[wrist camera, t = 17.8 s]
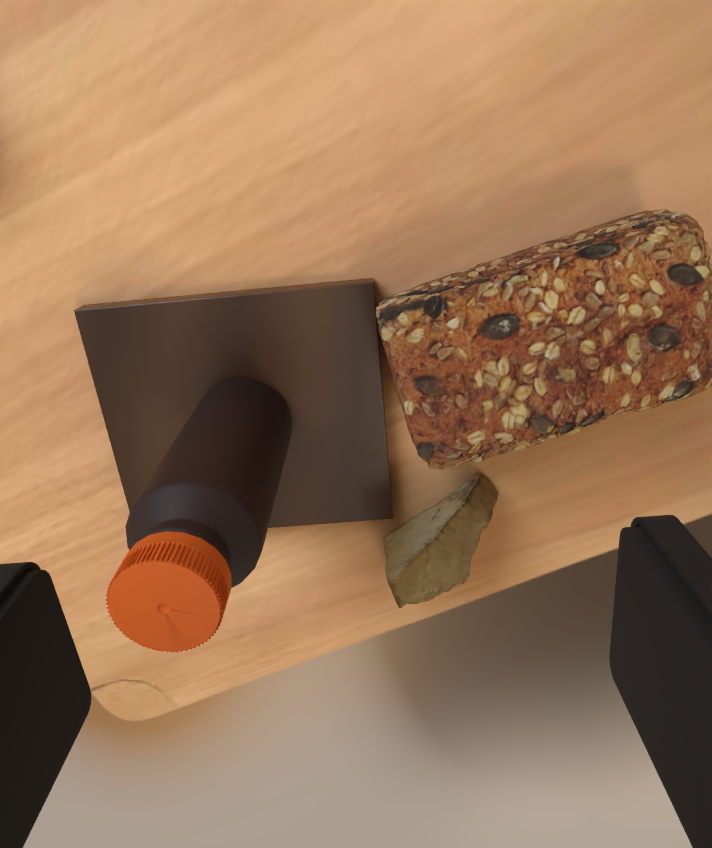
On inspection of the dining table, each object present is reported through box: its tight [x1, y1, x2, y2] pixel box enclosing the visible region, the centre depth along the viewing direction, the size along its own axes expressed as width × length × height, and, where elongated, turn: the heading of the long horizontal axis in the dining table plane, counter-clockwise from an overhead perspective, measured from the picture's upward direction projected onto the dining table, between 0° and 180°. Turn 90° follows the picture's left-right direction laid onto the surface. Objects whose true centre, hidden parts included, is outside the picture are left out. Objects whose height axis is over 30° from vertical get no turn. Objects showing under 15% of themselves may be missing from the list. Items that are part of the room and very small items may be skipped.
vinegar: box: [106, 378, 292, 652], centre depth 36 cm, size 7×7×20 cm
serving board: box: [74, 278, 393, 528], centre depth 45 cm, size 20×18×2 cm
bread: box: [376, 209, 712, 469], centre depth 39 cm, size 19×11×10 cm, turn 108°
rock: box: [384, 474, 498, 608], centre depth 47 cm, size 11×9×10 cm
